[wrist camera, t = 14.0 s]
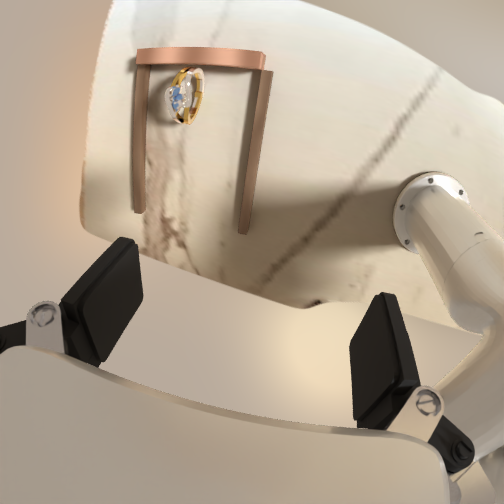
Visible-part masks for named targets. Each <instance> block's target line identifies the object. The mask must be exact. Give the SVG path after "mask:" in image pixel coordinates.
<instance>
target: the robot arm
mask: <svg viewBox="0 0 504 504" xmlns="http://www.w3.org/2000/svg"><path fill="white" fill-rule="evenodd" d="M429 178H430V179H429ZM428 179H429V180H428ZM400 205H402V206H400ZM393 224H394V229H395V232H396V235H397V237H398V238H399V240H400V242H401V243H402V245H403V246H404V247H405V248H407V249H408V250H409V251H411V252H413V253H415V254H419V255H420V256H421V258H422V260H423V262H424V264H425V266H426V268H427V270H428V272H429V273H430V275H431V277H432V279H433V281H434V283H435V285H436V287H437V290H438V292H439V294H440V296H441V298H442V300H443V302H444V304H445V306H446V308H447V311H448V313H449V314H450V316H451V318H452V319H453V320H454V322H455V323H456V324H458V325H459V326H460V327H461V328H463V329H465V330H467V331H470V332H473V333H477V334H483V337H482V339H481V340H480V342H479V343H478V344H477V345H476V346H475V347H474V348H473V349H472V351H470V353H469V354H468V355H467V356H466V357H465V358H464V359H463V360H462V361H461V362H460V363H459V364H458V365H457V366H456V367H455V368H454V369H452V370H451V371H450V372H449V373H448V374H447V375H446V376H445V377H443V378H442V379H441V380H440V381H439V382H438V383H436V384H435V385H434V386H433V387H429V386H421V385H420V379H419V375H418V371H417V366H416V362H415V358H414V354H413V351H412V346H411V343H410V339H409V336H408V333H407V331H406V328H405V324H404V321H403V317H402V314H401V311H400V307H399V304H398V301H397V298H396V296H395V295H394V294H390V293H385V292H381V293H380V294H379V295H375V296H374V298H373V300H372V302H371V304H370V306H369V308H368V310H367V312H366V314H365V316H364V317H363V319H362V321H361V323H360V325H359V327H358V329H357V331H356V332H355V334H354V336H353V338H352V339H351V342H350V346H349V351H350V364H351V380H352V399H353V418H354V420H357V428H344V427H334V426H325V425H315V424H306V423H299V422H292V421H285V420H278V419H272V418H267V417H261V416H256V415H251V414H245V413H241V412H236V411H232V410H227V409H223V408H219V407H215V406H211V405H207V404H203V403H199V402H195V401H192V400H188V399H185V398H181V397H178V396H174V395H171V394H168V393H165V392H162V391H159V390H156V389H153V388H150V387H147V386H144V385H141V384H138V383H135V382H133V381H130V380H127V379H124V378H122V377H119V376H117V375H114V374H112V373H109V372H107V371H104V370H101V369H99V368H98V367H99V365H100V364H101V362H105V361H106V360H107V358H108V356H109V355H110V353H111V351H112V350H113V348H114V346H115V345H116V343H117V341H118V339H119V338H120V336H121V335H122V333H123V331H124V330H125V328H126V327H127V325H128V323H129V321H130V320H131V319H132V317H133V315H134V314H135V312H136V311H137V309H138V307H139V306H140V304H141V302H142V300H143V288H142V281H141V271H140V262H139V251H138V245H137V244H135V241H134V240H133V239H129V238H125V237H119V238H118V239H117V240H116V241H115V242H114V243H113V244H112V245H111V246H110V247H109V248H108V249H107V250H106V251H105V252H104V253H103V254H102V255H101V256H100V257H99V258H98V259H97V260H96V261H95V262H94V263H93V264H92V265H91V267H90V268H89V269H88V270H87V271H86V272H85V273H84V274H83V275H82V276H81V277H80V279H79V280H78V281H77V282H76V283H75V284H74V285H73V287H71V289H70V290H69V291H68V292H67V293H66V294H65V295H64V297H63V298H62V299H61V302H60V304H59V305H57V304H56V303H54V302H52V301H43V302H40V303H37V304H36V305H34V306H33V307H32V308H31V309H30V310H29V312H28V314H27V319H26V320H25V321H21V322H18V323H14V324H10V325H7V326H3V327H0V504H504V240H503V239H502V238H501V236H500V235H499V234H498V233H497V232H496V231H495V230H494V229H493V228H492V227H491V226H490V225H489V224H488V223H487V222H486V221H485V220H484V219H483V218H482V217H481V216H480V215H479V214H478V213H477V212H476V211H475V210H474V209H473V208H472V207H471V206H470V202H469V198H468V195H467V193H466V190H465V189H464V187H463V186H462V185H461V184H460V183H459V182H458V181H457V180H456V179H454V178H453V177H452V176H450V175H447V174H445V173H440V172H430V173H426V174H423V175H420V176H418V177H417V178H415V179H413V180H412V181H411V182H410V183H408V184H407V185H406V187H405V188H404V189H403V190H402V192H401V193H400V195H399V197H398V199H397V201H396V204H395V207H394V212H393ZM87 363H88V364H87ZM89 364H90V365H89ZM92 365H93V366H92ZM94 366H95V367H94ZM358 428H368V429H358Z"/></svg>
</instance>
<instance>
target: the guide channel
mask: <svg viewBox="0 0 504 504" xmlns="http://www.w3.org/2000/svg"><path fill="white" fill-rule="evenodd" d="M265 58H266V55H265V54H263V53H262V52H259V51H250V50H240V49H227V48H208V47H164V48H145V49H137V57H136V64H142V65H138V67H137V77H136V89H135V105H134V127H133V190H134V213H138V214H142V213H143V212H144V211H145V210H146V204H145V145H146V120H147V103H148V90H149V78H150V69H151V65H156V64H189V65H212V66H226V67H237V68H247V69H255V70H262V72H261V78H260V84H259V91H258V97H257V104H256V110H255V117H254V123H253V130H252V137H251V143H250V150H249V157H248V164H247V171H246V178H245V185H244V192H243V199H242V207H241V214H240V221H239V229H238V233H240V234H245V235H246V234H247V232H248V228H249V222H250V215H251V209H252V202H253V196H254V190H255V183H256V177H257V170H258V164H259V158H260V152H261V145H262V139H263V133H264V127H265V120H266V114H267V108H268V102H269V96H270V90H271V83H272V77H273V72H272V71H267V70H264V64H265Z"/></svg>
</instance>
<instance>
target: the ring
mask: <svg viewBox="0 0 504 504" xmlns="http://www.w3.org/2000/svg"><path fill="white" fill-rule="evenodd" d="M193 75H195V77H196V80H197V90H196V91H195V95H194V97H195V99H194V102H193V105H192V108H191V110H190V112H189V108H190V106H191V103H192V93H191V78H192V76H193ZM185 76H186V78H185V89H186V94H182V92H181V91H182V89H183V86H181V85H180V84H181V82H182V80H183V79H184V77H185ZM204 83H205V80H204V73H203V71H202V69H200V68H196V67H185V68H183V69H182V70H181V71H180V72H179V73H178V74H177V75H176V77H175V78H174V80H173V82H172V84H171V87H169V88H167V90H166V92H165V102H166V105H167V108H168V110H169V112H170V114H171V116H172V118H173V119H174V120H175V121H176V122H178V123H182V124H188V125H190V124H191V123H192V122H193V121H194V119H195V117H196V115H197V112H198V110H199V107H200V103H201V100H202V98H203V96H204ZM172 92H173V95H172ZM185 97H187V101H186V100H185V99H184V98H185ZM185 101H186V102H185ZM181 107H183V108H184V118H182V117H181V116H180V115H179V113H178V112H179V111H180V108H181Z"/></svg>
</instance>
